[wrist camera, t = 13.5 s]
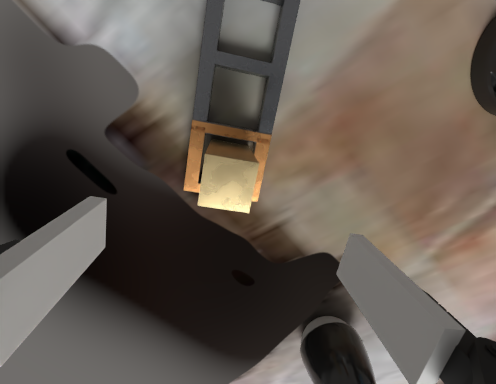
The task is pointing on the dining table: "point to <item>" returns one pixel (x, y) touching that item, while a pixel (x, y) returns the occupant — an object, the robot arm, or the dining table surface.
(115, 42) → the dining table surface
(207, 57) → the rail
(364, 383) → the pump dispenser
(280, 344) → the dining table surface
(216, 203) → the brass peg
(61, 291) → the robot arm
